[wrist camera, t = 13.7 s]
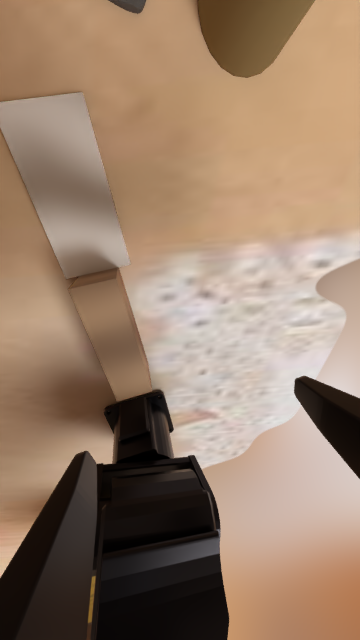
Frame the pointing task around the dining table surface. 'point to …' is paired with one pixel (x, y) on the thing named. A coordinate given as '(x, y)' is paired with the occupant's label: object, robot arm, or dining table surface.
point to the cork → (249, 31)
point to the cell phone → (130, 5)
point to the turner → (80, 225)
